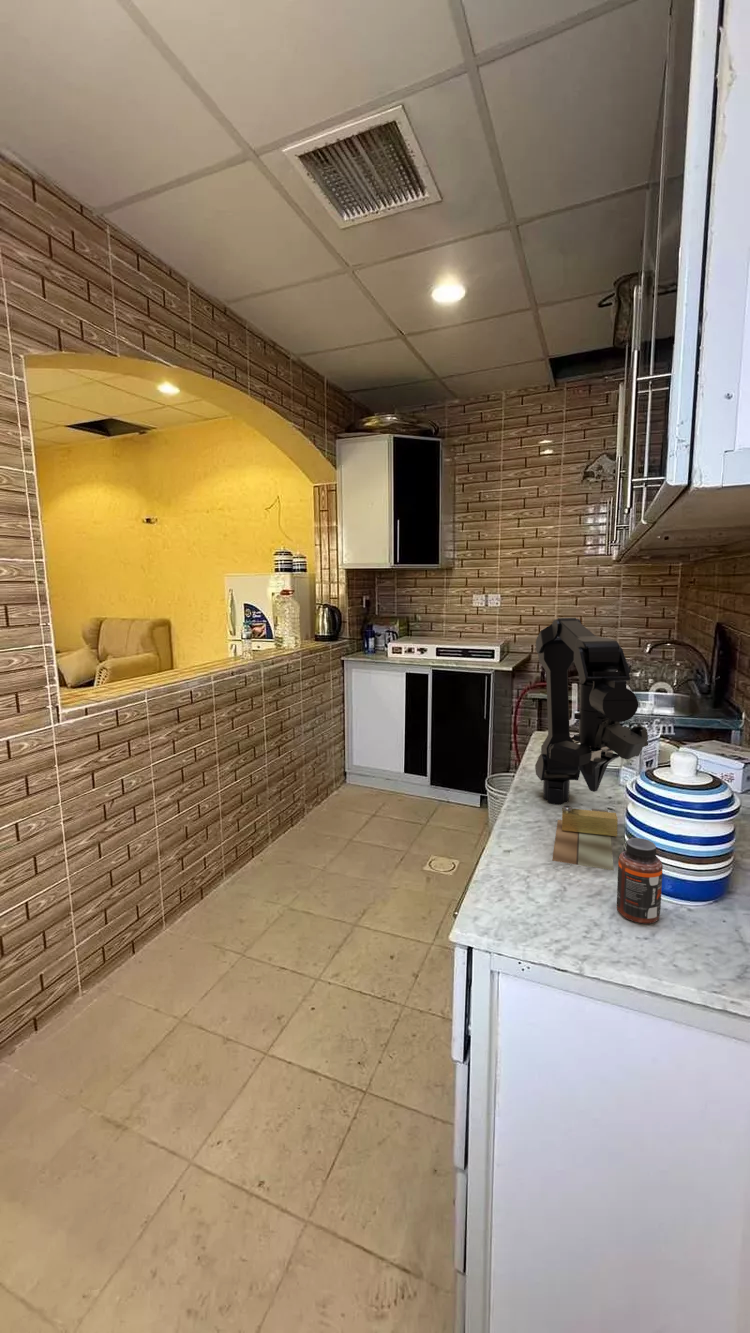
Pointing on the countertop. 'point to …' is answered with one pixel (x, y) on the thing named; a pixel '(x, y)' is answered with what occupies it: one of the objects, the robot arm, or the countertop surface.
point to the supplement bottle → (639, 882)
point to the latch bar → (589, 821)
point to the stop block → (599, 810)
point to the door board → (583, 848)
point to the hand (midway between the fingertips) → (593, 790)
